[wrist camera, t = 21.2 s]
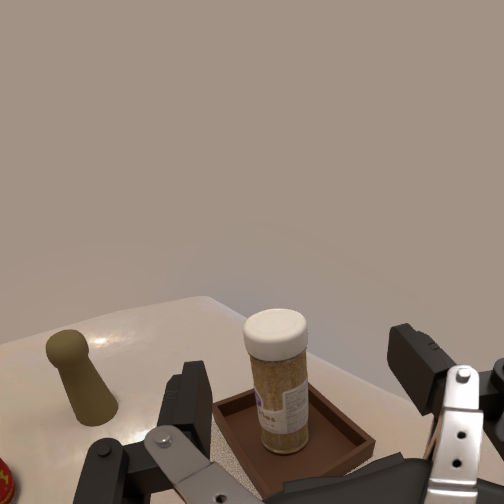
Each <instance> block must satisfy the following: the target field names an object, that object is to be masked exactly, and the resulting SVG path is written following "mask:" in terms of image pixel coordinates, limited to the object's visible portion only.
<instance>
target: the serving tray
mask: <svg viewBox="0 0 504 504" xmlns="http://www.w3.org/2000/svg"><path fill="white" fill-rule="evenodd" d="M212 413H213V416H214V420H215V422H216V424H217V425H218V427H219V429H220V431H221V432H222V434H223V436H224V438H225V439H226V441H227V443H228V445H229V446H230V448H231V450H232V451H233V453H234V455H235V456H236V458H237V460H238V461H239V463H240V464H241V466H242V468H243V469H244V471H245V472H246V474H247V476H248V477H249V479H250V480H251V482H252V483H253V485H254V486H255V488H256V489H257V491H258V492H259V494H260V495H261V497H262V498H263V499H265V498H267V497H268V496H270V495H272V494H274V493H276V492H278V491H281V490H283V484H282V482H287V481H293V480H299V479H304V478H309V477H325V476H343V475H344V474H346V473H348V472H349V471H351V470H352V469H354V468H355V467H357V466H358V465H360V464H362V463H363V462H364V461H366V460H367V459H369V458H370V457H372V454H373V450H374V446H375V442H376V441H375V440H374V439H373V438H371V436H370V435H368V434H367V433H366V432H365V431H364V430H362V429H361V428H360V427H359V426H358V425H356V424H355V423H354V422H353V421H352V420H351V419H349V418H348V417H347V416H346V415H345V414H344V413H342V412H341V411H340V410H339V409H338V408H337V407H336V406H334V405H333V404H332V403H331V402H330V401H329V400H328V399H326V398H325V397H324V396H323V395H322V394H321V393H320V392H319V391H317V390H316V389H315V388H314V387H313V386H312V385H311V384H310V383H309V382H308V422H307V423H308V432H309V439H308V442H307V444H306V445H305V446H304V447H303V448H302V449H300V450H299V451H297V452H294V453H291V454H284V455H283V454H275V453H273V452H271V451H269V450H267V449H266V448H265V447H264V445H263V443H262V440H261V435H262V431H261V426H260V422H259V417H258V410H257V403H256V397H255V390H254V388H253V389H251V390H248V391H246V392H243V393H240V394H238V395H235V396H232V397H230V398H227V399H224V400H221V401H218V402H215V403H213V404H212Z"/></svg>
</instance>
